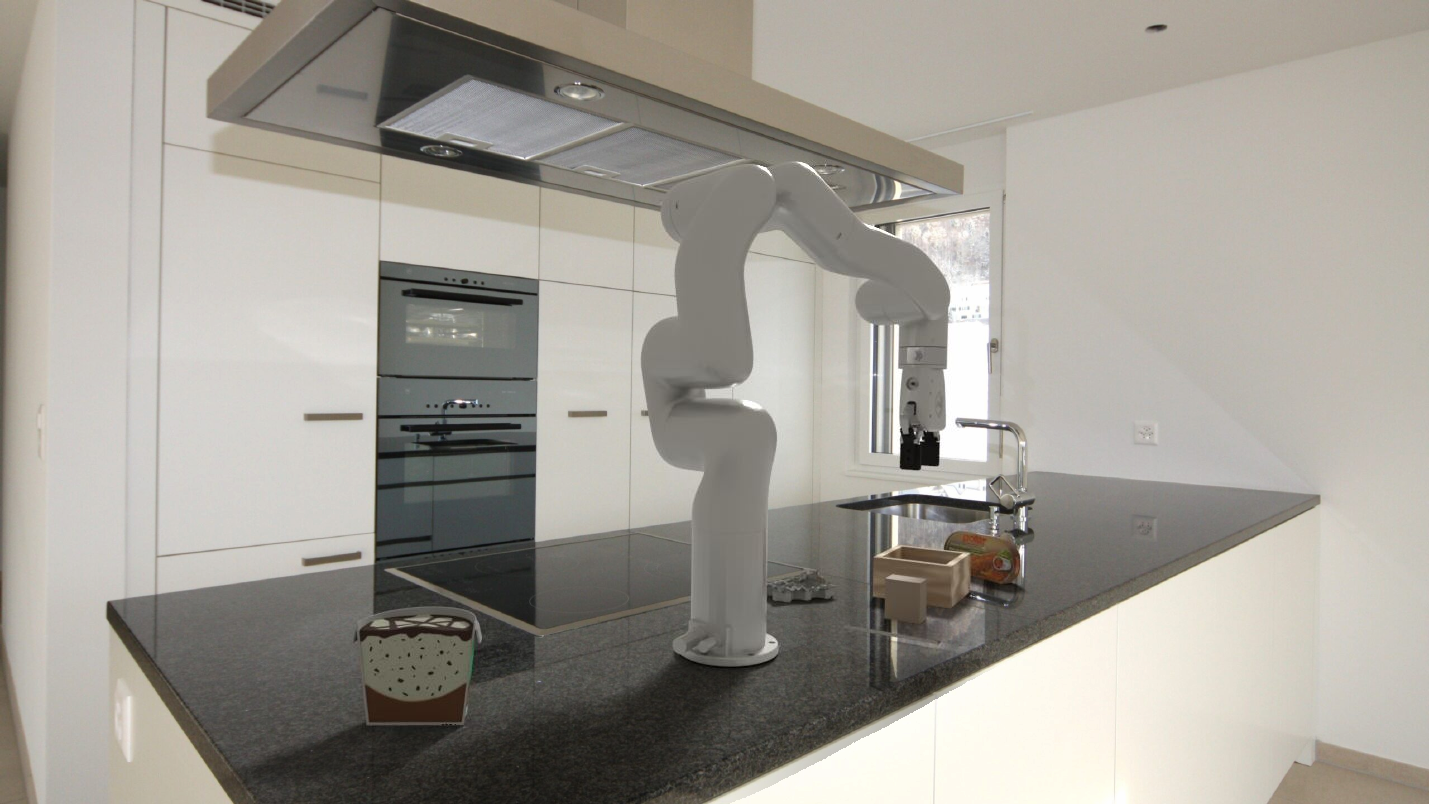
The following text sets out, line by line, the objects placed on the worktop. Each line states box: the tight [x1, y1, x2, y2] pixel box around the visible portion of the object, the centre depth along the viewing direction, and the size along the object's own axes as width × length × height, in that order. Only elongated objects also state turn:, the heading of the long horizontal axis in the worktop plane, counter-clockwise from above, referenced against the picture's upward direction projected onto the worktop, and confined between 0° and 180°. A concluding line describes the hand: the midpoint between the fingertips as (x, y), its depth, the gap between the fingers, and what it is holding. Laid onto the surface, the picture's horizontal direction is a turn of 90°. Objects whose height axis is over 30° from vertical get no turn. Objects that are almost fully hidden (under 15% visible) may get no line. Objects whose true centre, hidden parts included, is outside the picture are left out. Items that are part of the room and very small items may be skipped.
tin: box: [943, 530, 1021, 585], centre depth 140 cm, size 15×3×8 cm, turn 31°
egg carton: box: [767, 569, 837, 603], centre depth 126 cm, size 11×8×4 cm
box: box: [872, 544, 971, 609], centre depth 127 cm, size 12×12×7 cm
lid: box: [843, 574, 942, 646], centre depth 113 cm, size 13×13×7 cm
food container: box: [350, 606, 483, 726], centre depth 81 cm, size 12×6×10 cm, turn 92°
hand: (920, 467), depth 127 cm, fingers open, 9 cm apart
